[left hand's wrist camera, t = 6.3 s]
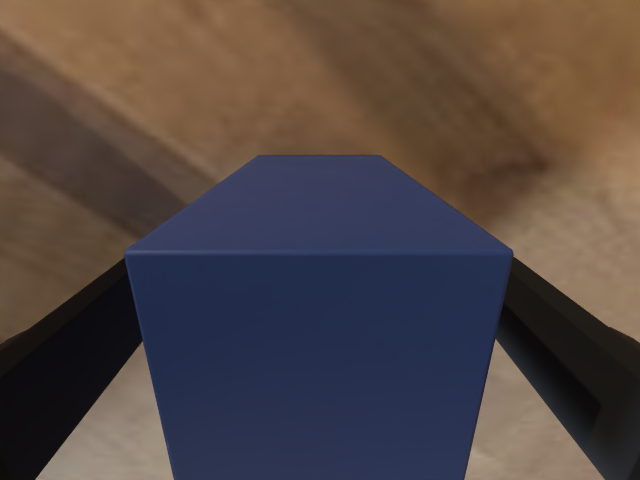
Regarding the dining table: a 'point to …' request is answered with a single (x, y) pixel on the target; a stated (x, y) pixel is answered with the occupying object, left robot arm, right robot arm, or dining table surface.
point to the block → (318, 324)
